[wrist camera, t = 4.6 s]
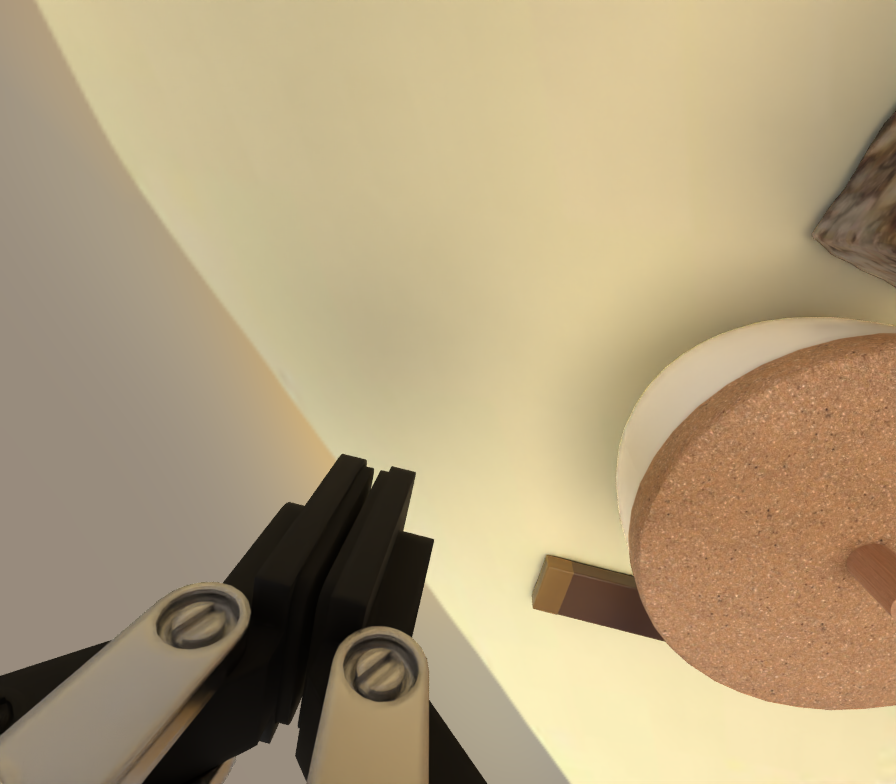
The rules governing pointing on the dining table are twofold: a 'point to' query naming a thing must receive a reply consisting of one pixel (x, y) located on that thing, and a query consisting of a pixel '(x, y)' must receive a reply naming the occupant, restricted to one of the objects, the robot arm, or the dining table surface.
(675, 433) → the trinket box
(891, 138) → the stone block
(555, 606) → the walnut straight-edge
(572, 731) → the dining table surface
